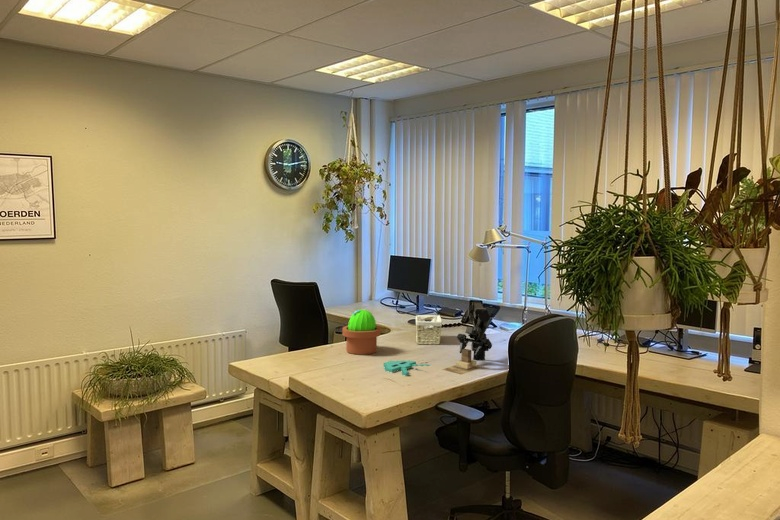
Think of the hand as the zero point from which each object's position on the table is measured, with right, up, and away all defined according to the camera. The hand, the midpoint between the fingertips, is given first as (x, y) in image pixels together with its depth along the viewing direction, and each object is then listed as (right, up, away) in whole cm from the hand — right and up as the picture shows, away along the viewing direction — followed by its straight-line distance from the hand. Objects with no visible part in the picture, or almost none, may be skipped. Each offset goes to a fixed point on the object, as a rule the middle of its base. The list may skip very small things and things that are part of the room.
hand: (467, 354), depth 293 cm
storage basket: (-16, -3, +67) cm, 69 cm away
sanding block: (-1, -7, +1) cm, 7 cm away
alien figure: (-33, -8, +3) cm, 34 cm away
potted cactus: (-56, -5, +38) cm, 68 cm away
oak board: (-3, -8, -2) cm, 9 cm away
